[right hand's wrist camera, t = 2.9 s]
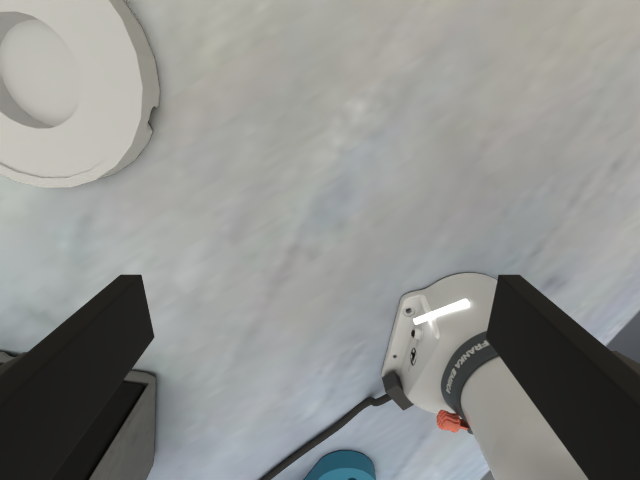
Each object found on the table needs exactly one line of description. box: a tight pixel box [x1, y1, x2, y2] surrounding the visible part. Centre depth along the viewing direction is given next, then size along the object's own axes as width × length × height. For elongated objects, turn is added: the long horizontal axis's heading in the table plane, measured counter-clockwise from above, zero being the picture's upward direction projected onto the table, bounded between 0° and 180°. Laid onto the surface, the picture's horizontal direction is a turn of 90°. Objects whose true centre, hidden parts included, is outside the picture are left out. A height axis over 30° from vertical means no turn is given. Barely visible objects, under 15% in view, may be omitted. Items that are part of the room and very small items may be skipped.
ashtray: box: [0, 0, 160, 188], centre depth 36 cm, size 23×23×4 cm
